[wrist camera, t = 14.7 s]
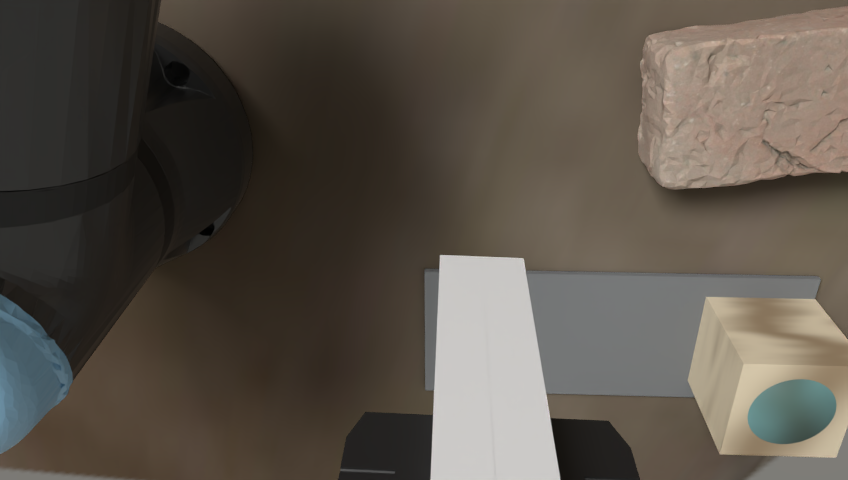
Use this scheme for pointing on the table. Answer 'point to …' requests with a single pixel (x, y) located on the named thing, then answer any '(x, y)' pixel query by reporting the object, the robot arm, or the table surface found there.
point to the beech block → (771, 377)
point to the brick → (746, 100)
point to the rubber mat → (621, 326)
